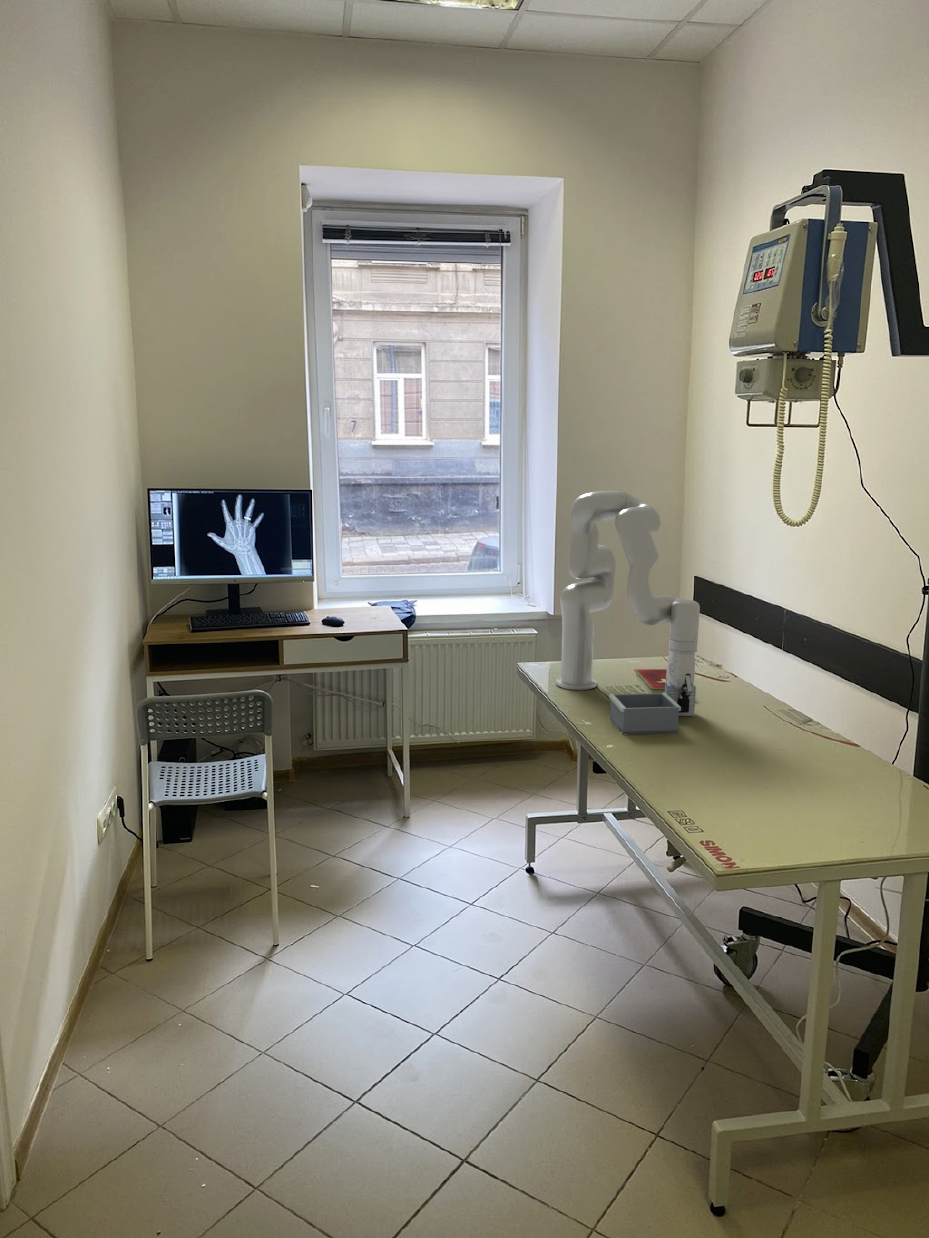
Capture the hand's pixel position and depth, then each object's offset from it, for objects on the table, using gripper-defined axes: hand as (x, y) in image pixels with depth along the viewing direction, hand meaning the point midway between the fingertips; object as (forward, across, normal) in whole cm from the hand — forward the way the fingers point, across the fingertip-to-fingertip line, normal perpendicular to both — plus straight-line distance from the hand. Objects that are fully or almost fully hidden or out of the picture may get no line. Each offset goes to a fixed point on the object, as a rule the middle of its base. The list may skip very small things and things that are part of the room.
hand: (679, 708), depth 253 cm
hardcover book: (+2, -23, +3) cm, 23 cm away
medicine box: (+2, 0, 0) cm, 2 cm away
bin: (+2, +9, -13) cm, 16 cm away
